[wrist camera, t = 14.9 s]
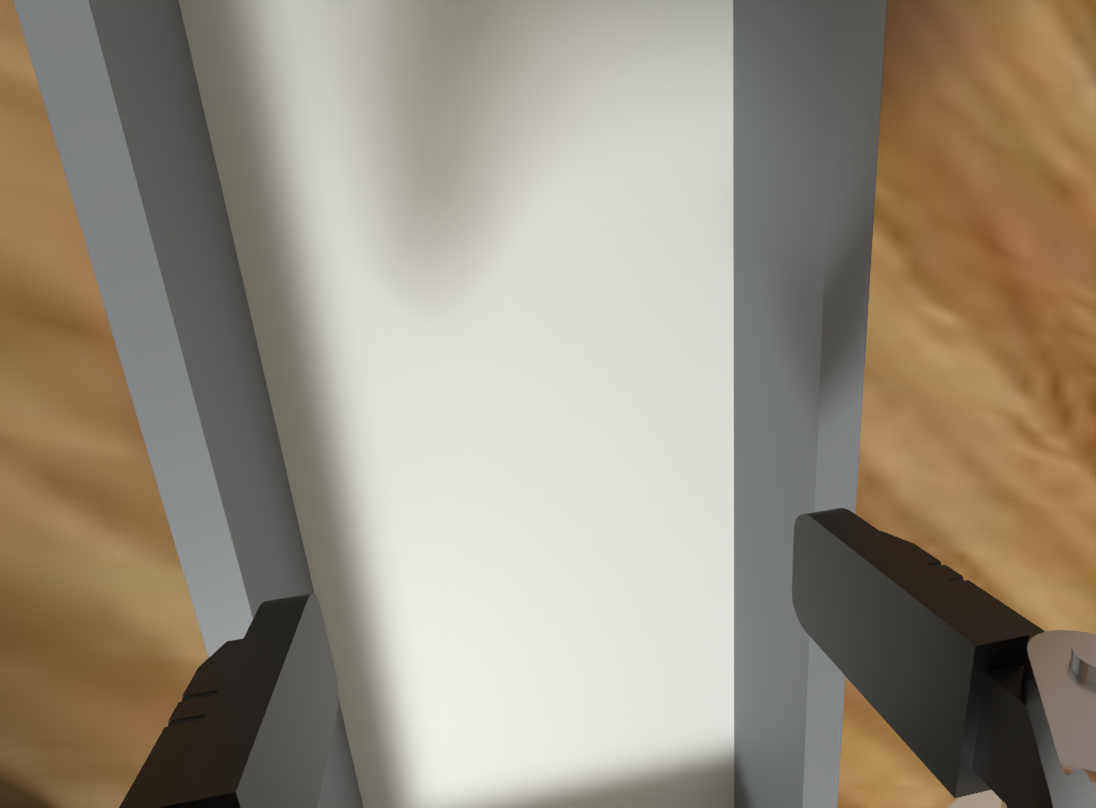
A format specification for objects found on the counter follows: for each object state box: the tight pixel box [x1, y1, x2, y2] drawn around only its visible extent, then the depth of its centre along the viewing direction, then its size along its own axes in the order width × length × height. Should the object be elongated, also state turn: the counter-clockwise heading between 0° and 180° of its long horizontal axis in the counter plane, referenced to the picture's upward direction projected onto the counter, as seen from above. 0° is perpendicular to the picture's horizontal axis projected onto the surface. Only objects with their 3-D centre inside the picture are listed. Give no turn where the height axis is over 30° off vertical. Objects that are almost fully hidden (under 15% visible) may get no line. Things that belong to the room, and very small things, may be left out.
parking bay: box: [14, 0, 887, 808], centre depth 15 cm, size 31×14×5 cm, turn 5°
